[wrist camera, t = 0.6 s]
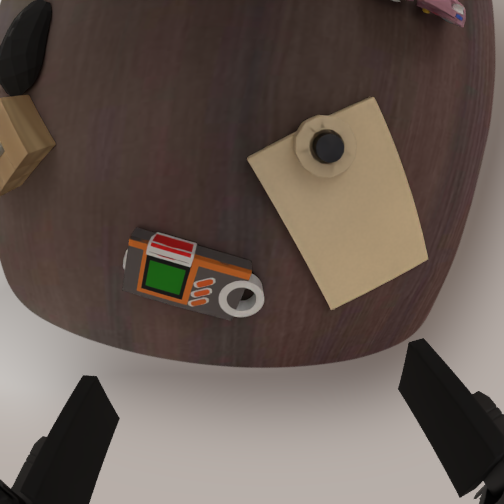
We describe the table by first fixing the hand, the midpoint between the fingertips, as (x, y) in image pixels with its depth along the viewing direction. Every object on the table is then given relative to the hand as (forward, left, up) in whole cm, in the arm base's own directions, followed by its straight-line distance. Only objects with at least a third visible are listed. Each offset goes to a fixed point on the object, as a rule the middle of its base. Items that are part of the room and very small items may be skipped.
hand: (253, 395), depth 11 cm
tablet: (-9, +4, -20) cm, 22 cm away
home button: (-9, -3, -18) cm, 20 cm away
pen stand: (+17, -22, -20) cm, 34 cm away
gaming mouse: (+9, -32, -20) cm, 39 cm away
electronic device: (+8, +3, -20) cm, 22 cm away
